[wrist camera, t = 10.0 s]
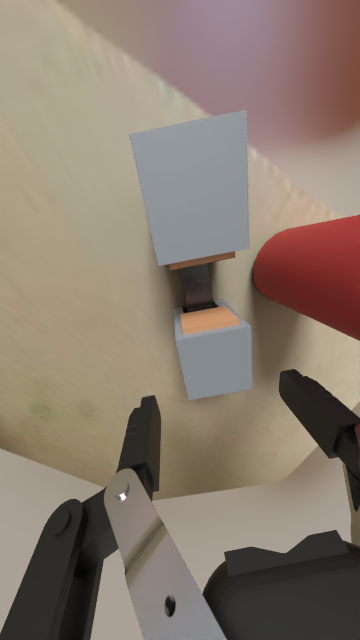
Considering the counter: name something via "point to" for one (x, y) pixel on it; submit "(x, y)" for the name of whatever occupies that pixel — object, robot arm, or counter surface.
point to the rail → (196, 287)
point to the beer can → (315, 272)
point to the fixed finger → (195, 188)
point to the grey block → (214, 350)
